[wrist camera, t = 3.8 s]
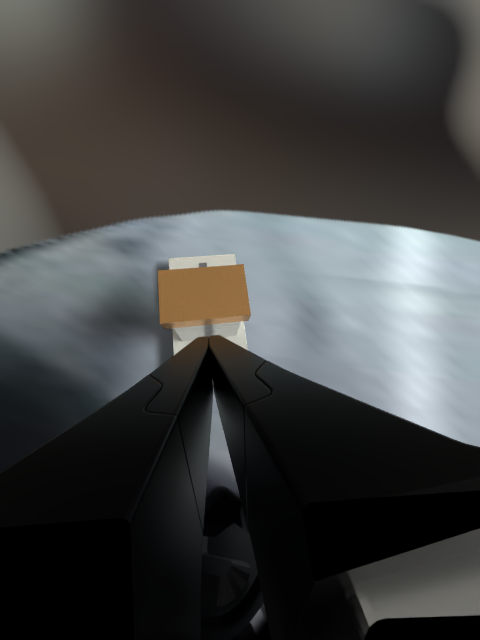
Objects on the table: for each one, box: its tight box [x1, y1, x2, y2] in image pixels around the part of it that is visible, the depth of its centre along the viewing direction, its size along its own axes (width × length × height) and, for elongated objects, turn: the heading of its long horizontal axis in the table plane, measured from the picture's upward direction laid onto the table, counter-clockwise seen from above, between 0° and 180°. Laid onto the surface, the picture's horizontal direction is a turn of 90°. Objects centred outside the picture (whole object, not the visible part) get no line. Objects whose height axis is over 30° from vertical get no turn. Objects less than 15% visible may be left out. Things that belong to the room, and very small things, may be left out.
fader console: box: [169, 254, 248, 355], centre depth 22 cm, size 12×6×2 cm, turn 7°
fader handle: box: [158, 264, 251, 341], centre depth 17 cm, size 3×5×7 cm, turn 97°
